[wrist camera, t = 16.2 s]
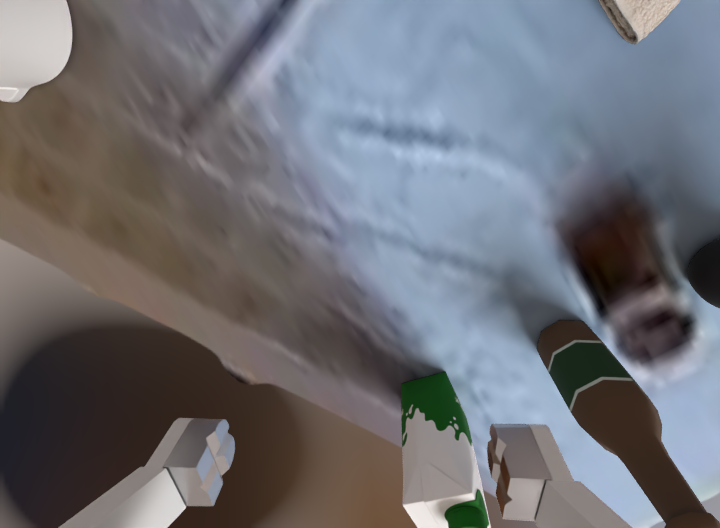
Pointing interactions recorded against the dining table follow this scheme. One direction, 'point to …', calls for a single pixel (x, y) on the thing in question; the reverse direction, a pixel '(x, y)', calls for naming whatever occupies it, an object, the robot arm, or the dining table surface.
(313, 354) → the dining table surface
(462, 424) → the milk carton
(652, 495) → the beer bottle
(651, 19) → the washcloth
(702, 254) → the cola bottle
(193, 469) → the robot arm
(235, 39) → the dining table surface
